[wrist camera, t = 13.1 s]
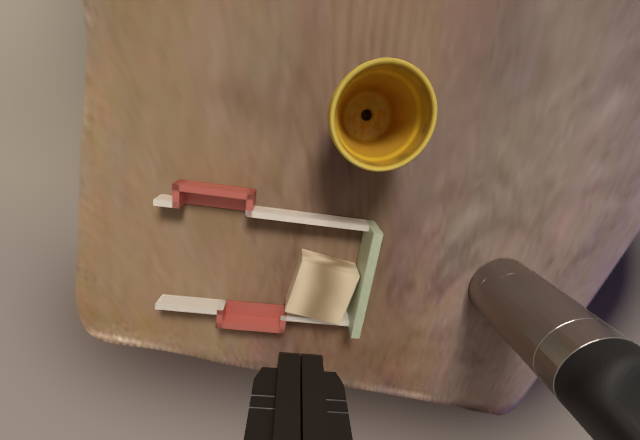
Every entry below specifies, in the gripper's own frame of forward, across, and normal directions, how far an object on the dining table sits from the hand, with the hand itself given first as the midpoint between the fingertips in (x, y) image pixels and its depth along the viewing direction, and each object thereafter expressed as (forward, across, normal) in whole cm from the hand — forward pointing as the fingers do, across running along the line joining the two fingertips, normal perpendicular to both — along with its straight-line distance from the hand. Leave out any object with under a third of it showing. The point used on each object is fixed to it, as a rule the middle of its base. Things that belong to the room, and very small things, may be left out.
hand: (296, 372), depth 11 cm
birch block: (+32, -5, +14) cm, 36 cm away
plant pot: (+32, -7, -9) cm, 34 cm away
